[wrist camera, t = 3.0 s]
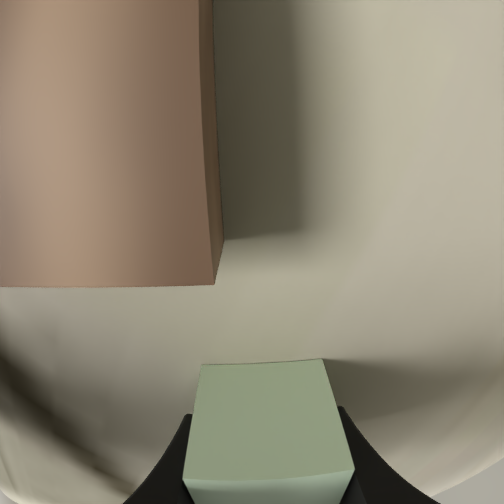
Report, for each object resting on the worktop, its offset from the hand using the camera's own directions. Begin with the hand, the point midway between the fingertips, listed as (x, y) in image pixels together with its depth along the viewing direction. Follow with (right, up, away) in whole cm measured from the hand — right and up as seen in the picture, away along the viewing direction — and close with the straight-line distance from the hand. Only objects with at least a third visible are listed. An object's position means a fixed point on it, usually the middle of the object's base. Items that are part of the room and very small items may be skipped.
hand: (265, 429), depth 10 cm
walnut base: (-9, +13, -3) cm, 16 cm away
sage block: (0, 0, +1) cm, 1 cm away
